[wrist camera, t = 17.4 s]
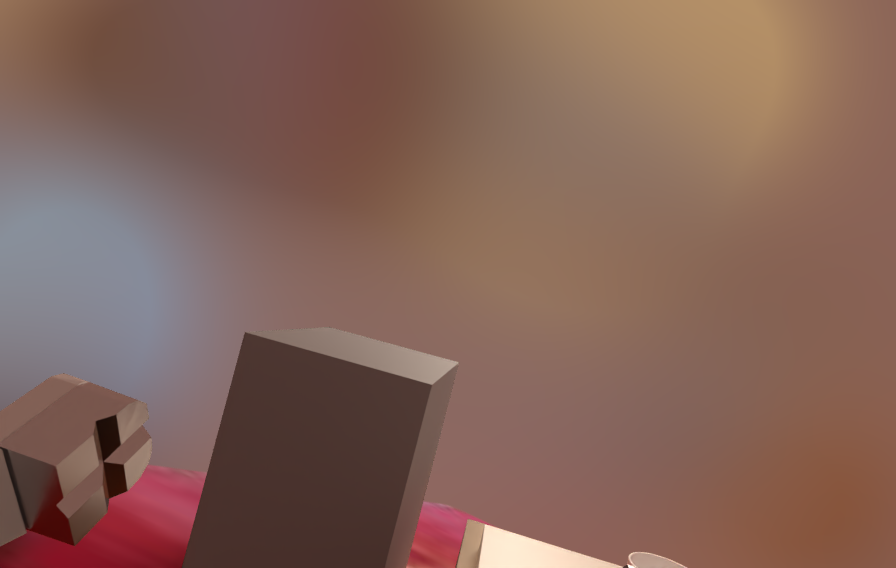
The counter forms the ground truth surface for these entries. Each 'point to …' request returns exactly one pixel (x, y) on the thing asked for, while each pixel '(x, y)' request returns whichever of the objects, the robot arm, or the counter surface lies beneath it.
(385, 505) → the carton
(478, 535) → the box
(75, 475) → the robot arm
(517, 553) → the lid flap
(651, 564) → the white cup
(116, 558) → the counter surface
